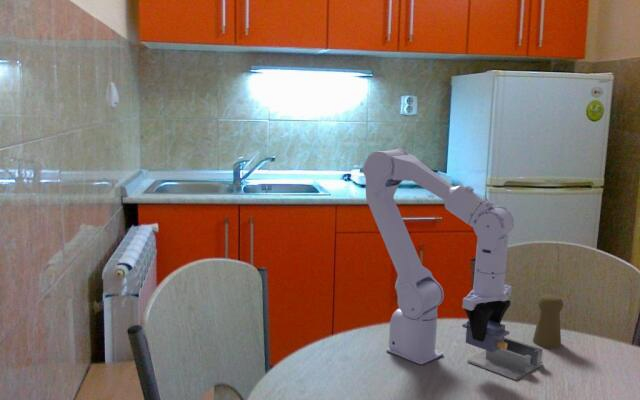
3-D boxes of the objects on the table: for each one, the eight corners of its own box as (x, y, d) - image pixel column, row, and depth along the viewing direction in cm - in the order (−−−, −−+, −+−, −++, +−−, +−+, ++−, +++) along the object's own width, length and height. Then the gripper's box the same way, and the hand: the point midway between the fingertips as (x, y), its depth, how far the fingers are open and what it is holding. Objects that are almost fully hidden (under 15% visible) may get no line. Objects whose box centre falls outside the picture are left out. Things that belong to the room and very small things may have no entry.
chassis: (467, 361, 127) (468, 345, 127) (495, 348, 135) (496, 333, 134) (516, 380, 119) (517, 363, 119) (542, 364, 127) (544, 348, 126)
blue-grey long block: (461, 341, 122) (462, 319, 122) (472, 336, 125) (473, 315, 124) (500, 355, 116) (502, 332, 115) (510, 349, 119) (512, 327, 118)
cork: (563, 349, 135) (568, 301, 133) (534, 346, 136) (539, 299, 135) (558, 339, 141) (563, 293, 139) (531, 336, 142) (535, 290, 140)
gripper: (488, 281, 111) (482, 353, 113) (527, 268, 121) (521, 334, 123) (455, 272, 116) (450, 341, 118) (495, 260, 126) (490, 324, 128)
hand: (484, 337), depth 121 cm, fingers closed on blue-grey long block, 4 cm apart
